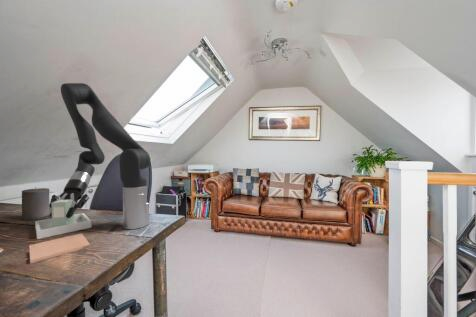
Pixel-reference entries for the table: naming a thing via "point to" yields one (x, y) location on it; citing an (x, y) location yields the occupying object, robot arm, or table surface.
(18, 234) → the table surface
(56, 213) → the sage box
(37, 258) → the terracotta tile
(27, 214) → the pillar candle
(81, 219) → the grey bin
